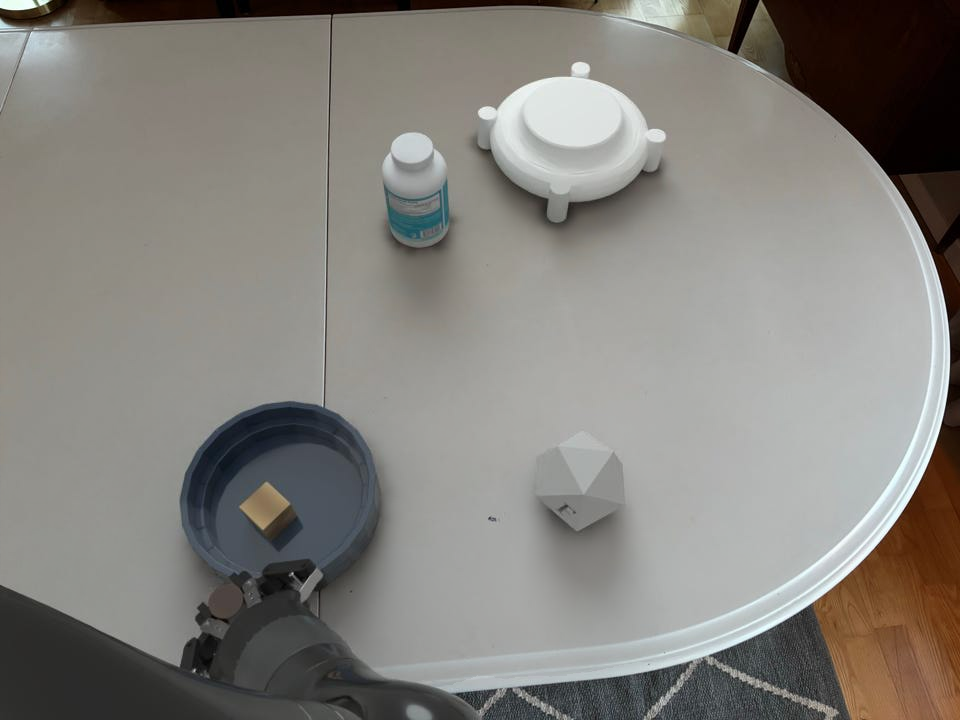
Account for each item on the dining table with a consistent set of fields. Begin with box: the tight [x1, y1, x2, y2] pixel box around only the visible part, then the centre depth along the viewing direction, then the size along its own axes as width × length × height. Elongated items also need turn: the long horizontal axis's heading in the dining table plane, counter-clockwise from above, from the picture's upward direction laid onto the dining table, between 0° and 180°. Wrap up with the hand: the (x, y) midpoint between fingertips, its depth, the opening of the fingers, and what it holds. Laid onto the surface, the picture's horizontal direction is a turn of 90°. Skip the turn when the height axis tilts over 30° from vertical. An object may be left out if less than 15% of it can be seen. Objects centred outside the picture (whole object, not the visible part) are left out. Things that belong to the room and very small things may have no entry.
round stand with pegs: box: [477, 61, 667, 224], centre depth 102 cm, size 24×24×7 cm
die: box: [534, 430, 626, 532], centre depth 77 cm, size 8×9×10 cm
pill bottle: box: [381, 132, 450, 249], centre depth 92 cm, size 8×7×14 cm
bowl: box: [179, 400, 382, 594], centre depth 78 cm, size 18×19×5 cm
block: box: [239, 482, 297, 541], centre depth 77 cm, size 4×4×4 cm
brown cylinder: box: [208, 583, 247, 624], centre depth 68 cm, size 3×3×10 cm
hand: (222, 597), depth 68 cm, fingers closed on brown cylinder, 3 cm apart
